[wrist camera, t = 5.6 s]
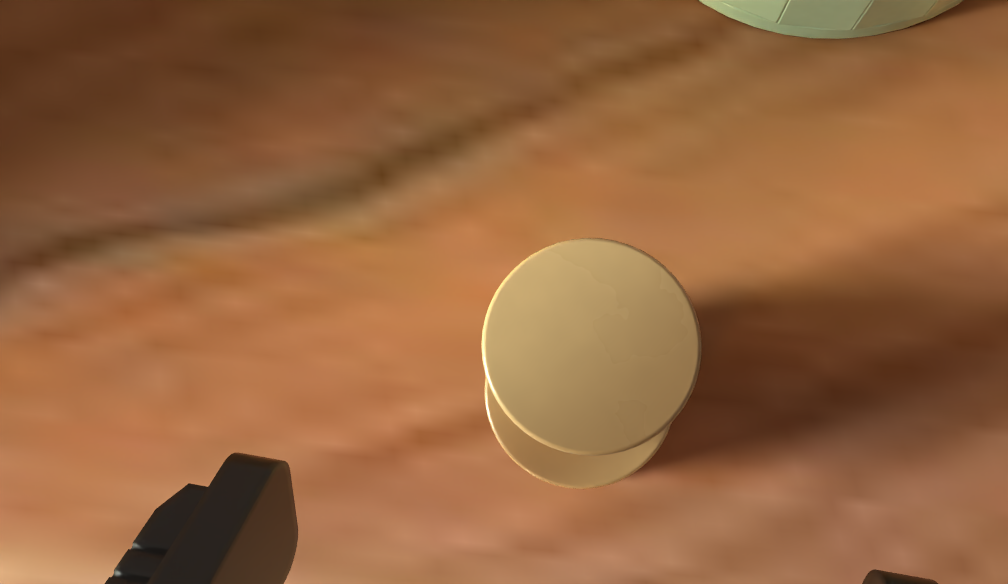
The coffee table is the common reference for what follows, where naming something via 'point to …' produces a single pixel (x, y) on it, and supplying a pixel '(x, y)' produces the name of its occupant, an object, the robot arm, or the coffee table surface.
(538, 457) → the pestle
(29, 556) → the coffee table surface
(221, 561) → the robot arm
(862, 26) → the crock
